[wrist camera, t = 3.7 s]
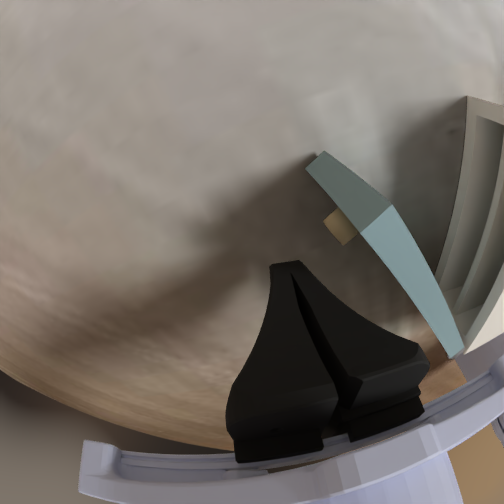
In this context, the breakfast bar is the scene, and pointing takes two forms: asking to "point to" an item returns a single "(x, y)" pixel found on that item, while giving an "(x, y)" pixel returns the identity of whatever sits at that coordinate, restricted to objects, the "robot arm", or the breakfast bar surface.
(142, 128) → the breakfast bar surface
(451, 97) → the breakfast bar surface
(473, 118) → the cabinet
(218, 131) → the breakfast bar surface
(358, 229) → the door
